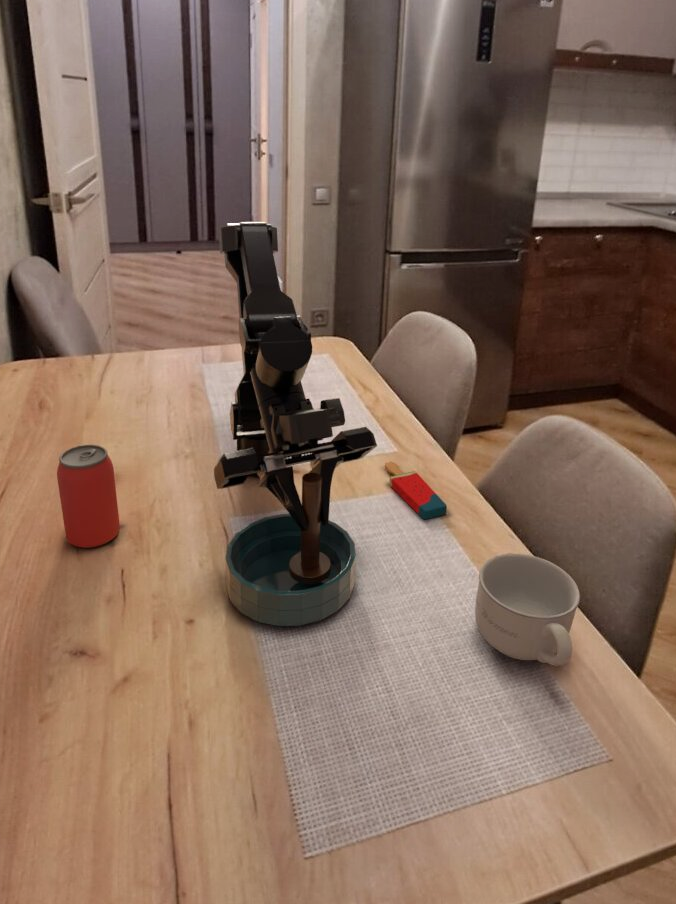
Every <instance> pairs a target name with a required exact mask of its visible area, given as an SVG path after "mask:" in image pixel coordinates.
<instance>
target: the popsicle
mask: <svg viewBox="0 0 676 904" xmlns="http://www.w3.org/2000/svg"><path fill="white" fill-rule="evenodd" d="M384 468H385V469H386V470H387V471H388V472H389V473H391V474H392V475H390V476H389V487H391V488H392V489H393V490H394V491H395V492H396V493H397V494H398V495H399V496H400V497H401V498H402V499H403V500H404V501H405V502H406V503H407V504H408V505H409V506H410V507H411V508H412V509H413V510H414V511H415V512H416V513H417V514H418V515H419V516H420V517H421V518H422V519H423V520H428V519H433V518H435V517H441V516H444V515H446V514H447V508H448V505H447V504H446V503H445V501H444V500H443V499H442V498H440V496H439V495H438V494H437V493H436V491H434V490H433V488H432V487H431V486H430V485H429V484H428V483H427V482H426V481H425V480H424V479H423V478H422V477H421V476H420V475H419V473H418V472H417V471H415V470H413V471H409V472H402V469H401V467H400V466H399V465H398V464H397V463H396V462H395V461H388V462H384Z"/></svg>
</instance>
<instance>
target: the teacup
mask: <svg viewBox="0 0 676 904" xmlns="http://www.w3.org/2000/svg"><path fill="white" fill-rule="evenodd" d="M580 602H581V593H580V590H579V587H578V585H577V583H576V581H575V580H574V579H573V577H572V576H571V575H570V574H569V573H568V572H566V571H565V570H564V569H562V567H560V566H558V565H557V564H555V563H553V562H552V561H549V560H546V559H544V558H541V557H538V556H536V555H531V554H525V553H515V552H514V553H513V552H507V553H503V554H497V555H495V556H492V557H490V558H488V559H487V560H485V562H484V563H483V564H482V566H481V567H480V570H479V573H478V585H477V590H476V598H475V605H474V618H475V622H476V626H477V628H478V630H479V633H480V634H481V636H482V637H483V639H485V640H486V642H487V643H489V645H490V646H492V647H493V648H494V649H496V651H498V652H500V653H501V654H503V655H505V656H506V657H509V658H511V659H516V660H519V661H538V662H540V663H542V664H543V663H544V664H549V665H552V666H557V667H559V666H563V665H566V664H568V663H569V662H570V660H571V659H572V655H573V643H572V639H571V636H570V631H571V628H572V626H573V622H574V618H575V614H576V611H577V609H578V607H579V605H580Z"/></svg>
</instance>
